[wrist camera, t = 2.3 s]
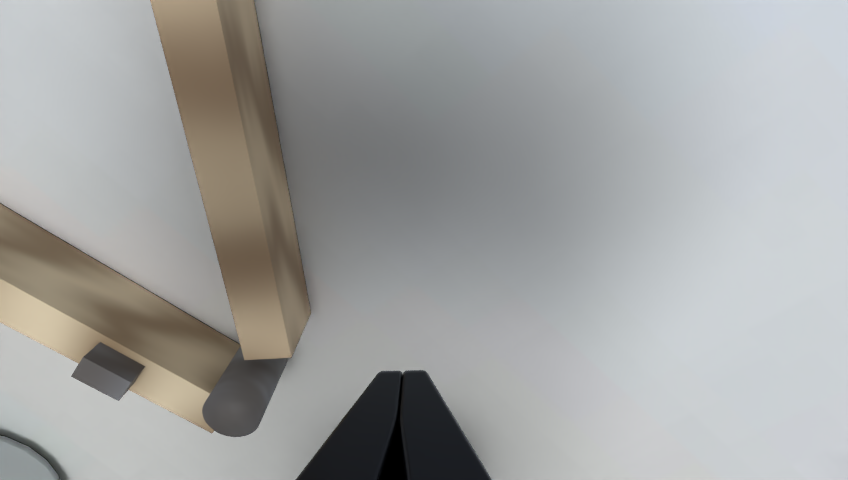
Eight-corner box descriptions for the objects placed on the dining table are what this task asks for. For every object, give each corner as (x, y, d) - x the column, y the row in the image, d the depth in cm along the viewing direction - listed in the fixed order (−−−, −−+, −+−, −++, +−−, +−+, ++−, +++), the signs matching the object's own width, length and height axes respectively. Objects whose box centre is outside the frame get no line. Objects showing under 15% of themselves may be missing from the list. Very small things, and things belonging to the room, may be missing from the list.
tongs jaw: (310, 313, 22) (291, 357, 18) (270, 315, 22) (244, 360, 19) (197, -310, 13) (125, -427, 10) (133, -304, 13) (40, -421, 10)
